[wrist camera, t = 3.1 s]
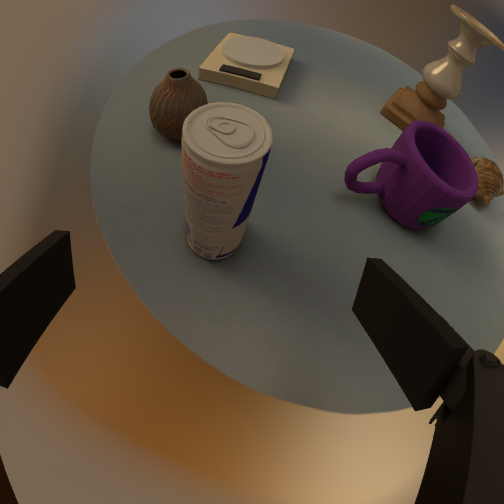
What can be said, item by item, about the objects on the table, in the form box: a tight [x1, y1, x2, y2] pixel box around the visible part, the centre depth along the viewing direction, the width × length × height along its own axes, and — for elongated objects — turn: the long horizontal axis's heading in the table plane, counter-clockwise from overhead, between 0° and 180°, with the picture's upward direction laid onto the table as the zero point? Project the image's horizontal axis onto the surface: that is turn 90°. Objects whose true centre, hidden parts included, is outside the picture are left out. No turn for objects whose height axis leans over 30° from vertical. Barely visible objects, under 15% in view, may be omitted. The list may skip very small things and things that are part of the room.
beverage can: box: [181, 102, 273, 260], centre depth 24 cm, size 6×6×15 cm
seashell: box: [471, 157, 504, 204], centre depth 39 cm, size 9×7×8 cm
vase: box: [149, 68, 208, 140], centre depth 32 cm, size 7×7×9 cm
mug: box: [345, 120, 478, 229], centre depth 32 cm, size 17×11×10 cm, turn 97°
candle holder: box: [381, 5, 504, 131], centre depth 35 cm, size 11×11×24 cm
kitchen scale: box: [198, 33, 295, 99], centre depth 42 cm, size 12×14×3 cm
